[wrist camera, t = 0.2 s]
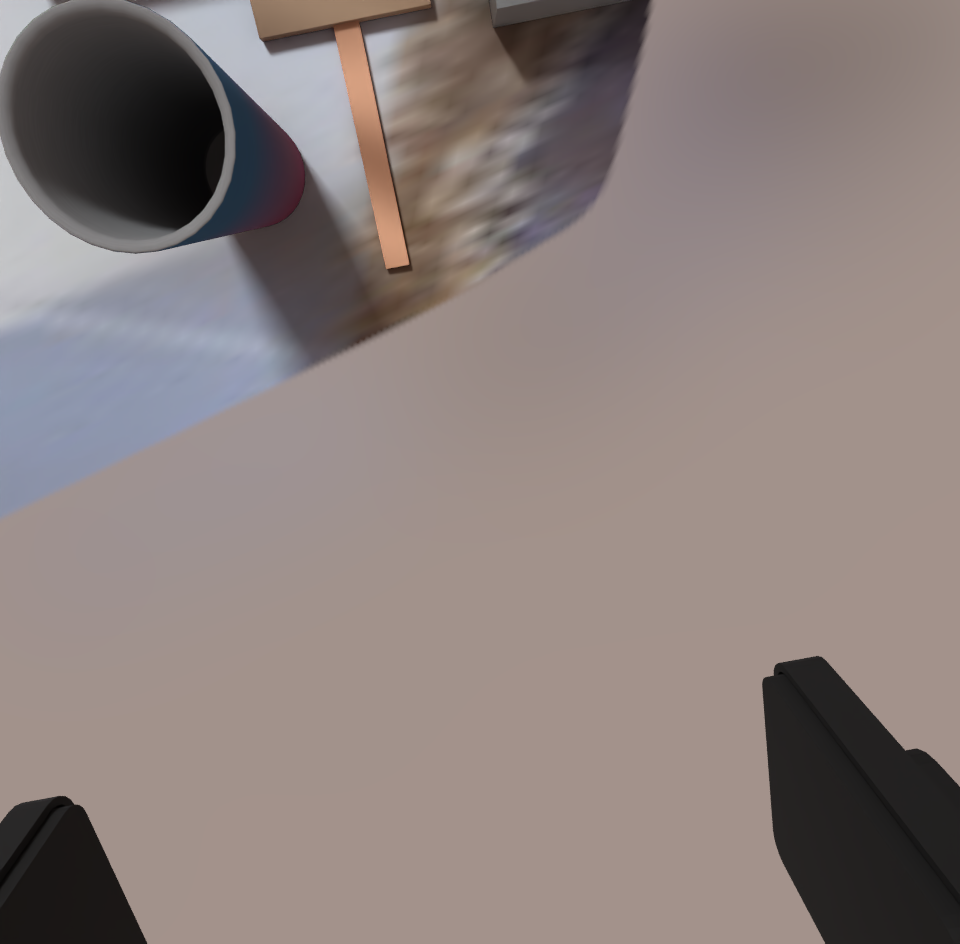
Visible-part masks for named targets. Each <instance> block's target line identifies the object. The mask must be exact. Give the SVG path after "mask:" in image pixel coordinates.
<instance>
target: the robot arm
mask: <svg viewBox="0 0 960 944" xmlns="http://www.w3.org/2000/svg"><path fill="white" fill-rule="evenodd" d="M762 687H763V701H764V714H765V727H766V741H767V754H768V768H769V781H770V795H771V808H772V821H773V832H774V838H775V842H776V846H777V849H778V852H779V855H780V857H781V860H782V862H783V864H784V866H785V867H786V870H787V871H788V873H789V875H790V877H791V879H792V881H793V883H794V885H795V887H796V888H797V891H798V892H799V894H800V896H801V898H802V900H803V902H804V904H805V906H806V908H807V909H808V911H809V913H810V915H811V917H812V919H813V921H814V923H815V925H816V927H817V928H818V930H819V932H820V934H821V936H822V938H823V940H824V941H825V944H960V787H959V786H958V784H957V783H956V782H955V781H954V780H953V779H952V778H951V777H950V776H949V775H948V774H947V773H946V771H945V770H944V769H943V768H942V767H941V766H940V765H939V764H938V763H937V762H936V761H935V760H934V759H933V758H932V757H931V756H930V755H928V754H927V753H926V752H924V751H922V750H919V749H912V750H906V751H905V750H904V749H903V748H902V746H901V745H900V744H899V743H898V742H897V741H896V740H895V738H894V737H893V736H892V735H891V734H890V733H889V732H888V730H887V729H886V728H885V727H884V726H883V725H882V724H881V722H880V721H879V720H878V719H877V718H876V717H875V716H874V715H873V713H871V711H870V710H869V709H868V708H867V707H866V706H865V704H864V703H863V702H862V701H861V700H860V699H859V697H858V696H857V695H856V694H855V693H854V692H853V691H852V690H851V688H850V687H849V686H848V685H847V684H846V683H845V682H844V680H842V678H841V677H840V676H839V675H838V674H837V673H836V671H835V670H834V669H833V668H832V667H831V666H830V665H829V664H828V663H827V661H826V660H825V659H823V658H822V657H819V656H816V657H810V658H804V659H799V660H794V661H788V662H783V663H778V664H776V665H775V668H774V676H770V677H765V678H764V679H763V683H762ZM0 944H147V942H146V940H145V938H144V935H143V933H142V932H141V929H140V927H139V925H138V923H137V920H136V918H135V916H134V914H133V912H132V910H131V908H130V906H129V904H128V901H127V899H126V897H125V895H124V893H123V891H122V888H121V886H120V884H119V882H118V880H117V878H116V875H115V873H114V871H113V869H112V867H111V865H110V863H109V860H108V858H107V856H106V854H105V852H104V850H103V848H102V845H101V843H100V842H99V839H98V837H97V835H96V833H95V831H94V828H93V826H92V824H91V822H90V820H89V818H88V815H87V814H86V812H85V810H84V808H83V807H81V806H80V805H74V803H73V802H72V801H71V800H70V799H69V798H67V797H66V796H57V797H52V798H47V799H41V800H36V801H30V802H25V803H21V804H19V805H16V806H15V807H14V808H13V809H12V810H11V811H10V812H9V813H8V814H7V815H6V817H5V818H4V819H3V820H2V822H1V823H0Z"/></svg>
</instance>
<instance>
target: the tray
mask: <svg viewBox="0 0 960 944" xmlns="http://www.w3.org/2000/svg"><path fill="white" fill-rule="evenodd" d="M625 1H630V0H489V4H490V10H491V17H492V23H493V28H496V27H500V26H505V25H510V24H515V23H520V22H525V21H530V20H535V19H540V18H545V17H550V16H555V15H560V14H565V13H570V12H575V11H580V10H585V9H590V8H595V7H600V6H605V5H610V4H615V3H620V2H625Z"/></svg>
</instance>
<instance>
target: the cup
mask: <svg viewBox="0 0 960 944" xmlns="http://www.w3.org/2000/svg"><path fill="white" fill-rule="evenodd" d="M0 136H1V140H2V143H3V147H4V150H5V154H6V157H7V159H8V161H9V163H10V165H11V167H12V169H13V171H14V174H15V176H16V178H17V180H18V181H19V182H20V184H21V185H22V187H23V188H24V190H25V191H26V193H27V194H28V195H29V197H30V198H31V200H32V201H33V202H34V203H35V204H36V205H37V206H38V207H39V208H40V209H41V210H42V211H43V212H44V213H45V214H46V215H47V216H48V217H49V219H51V220H52V221H53V222H55V223H56V224H57V225H59V226H60V227H61V228H63V229H64V230H66V231H67V232H68V233H70V234H71V235H73V236H75V237H77V238H79V239H81V240H83V241H85V242H87V243H89V244H91V245H94V246H98V247H101V248H104V249H108V250H111V251H116V252H126V253H135V254H137V253H146V252H156V251H161V250H166V249H170V248H174V247H179V246H183V245H188V244H192V243H196V242H201V241H205V240H210V239H214V238H218V237H223V236H227V235H232V234H236V233H240V232H245V231H249V230H253V229H258V228H262V227H267V226H270V225H273V224H276V223H279V222H280V221H282V220H284V219H285V218H287V217H288V216H289V215H290V214H291V213H292V212H293V211H294V209H295V208H296V207H297V205H298V204H299V201H300V199H301V197H302V194H303V190H304V185H305V171H304V164H303V161H302V158H301V155H300V152H299V150H298V149H297V147H296V145H295V143H294V142H293V141H292V139H291V138H290V137H289V136H288V134H287V133H286V132H285V131H284V130H283V129H282V128H281V127H280V126H279V125H278V124H277V123H276V122H275V121H274V120H273V119H272V118H271V117H270V116H269V115H268V114H267V113H266V112H265V111H264V110H263V109H262V108H261V107H260V106H259V105H257V104H256V103H255V102H254V101H253V100H252V99H251V98H250V97H249V96H248V95H247V94H246V93H245V92H244V91H243V90H242V89H241V88H240V87H239V86H238V85H237V84H236V83H235V82H234V81H233V80H232V79H231V78H230V77H229V76H228V75H227V74H226V73H225V72H224V71H223V70H222V69H221V68H220V67H219V66H218V65H217V64H216V63H215V62H214V61H213V60H212V59H211V58H210V57H209V56H208V55H207V54H206V53H205V52H204V51H203V50H202V49H201V48H200V47H199V46H198V45H197V44H196V43H195V42H194V41H193V40H192V39H191V38H190V37H189V36H188V35H186V34H185V33H184V32H183V31H182V30H180V29H179V28H178V27H177V26H176V25H175V24H173V23H172V22H171V21H169V20H168V19H166V18H164V17H162V16H161V15H159V14H157V13H156V12H154V11H152V10H150V9H149V8H146V7H143V6H140V5H138V4H135V3H132V2H129V1H126V0H70V1H67V2H65V3H62V4H59V5H56V6H53V7H51V8H50V9H48V10H47V11H45V12H43V13H42V14H40V15H39V16H37V17H36V18H34V19H33V20H32V21H31V22H30V23H29V24H28V25H27V26H26V27H25V28H24V30H23V31H22V32H21V33H20V34H19V35H18V36H17V37H16V39H15V41H14V43H13V45H12V46H11V48H10V50H9V52H8V54H7V55H6V57H5V60H4V64H3V67H2V70H1V74H0Z"/></svg>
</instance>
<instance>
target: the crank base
mask: <svg viewBox="0 0 960 944" xmlns="http://www.w3.org/2000/svg"><path fill="white" fill-rule="evenodd" d="M250 2H251V6H252V10H253V14H254V18H255V22H256V26H257V30H258V34H259V38H260V39H261V40H262V41H263V42H264V41H269V40H274V39H279V38H284V37H289V36H294V35H299V34H304V33H309V32H314V31H319V30H324V29H329V28H333V27H334V32H335V36H336V41H337V46H338V50H339V55H340V59H341V64H342V69H343V73H344V78H345V82H346V87H347V91H348V96H349V101H350V105H351V110H352V114H353V119H354V124H355V128H356V133H357V137H358V142H359V146H360V151H361V156H362V160H363V165H364V169H365V174H366V179H367V183H368V188H369V192H370V197H371V201H372V206H373V211H374V215H375V220H376V224H377V229H378V234H379V238H380V243H381V247H382V252H383V256H384V261H385V266H386V269H389V268H394V267H399V266H405V265H409V259H408V254H407V249H406V245H405V240H404V235H403V230H402V225H401V220H400V216H399V211H398V206H397V201H396V196H395V192H394V187H393V182H392V177H391V172H390V167H389V163H388V158H387V153H386V148H385V143H384V139H383V134H382V129H381V124H380V119H379V114H378V110H377V105H376V100H375V95H374V90H373V86H372V81H371V76H370V71H369V66H368V61H367V57H366V52H365V47H364V42H363V37H362V32H361V28H360V23H359V22H363V21H368V20H373V19H378V18H383V17H388V16H393V15H398V14H403V13H408V12H413V11H418V10H423V9H428V8H431V3H430V0H250Z"/></svg>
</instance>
